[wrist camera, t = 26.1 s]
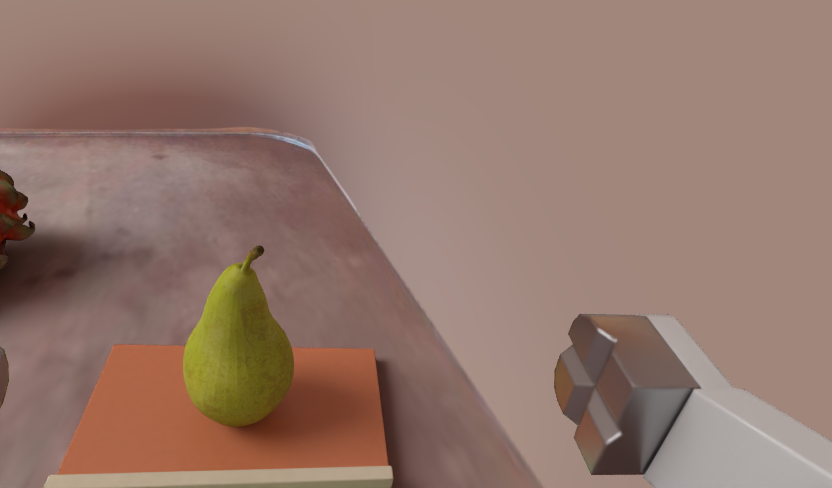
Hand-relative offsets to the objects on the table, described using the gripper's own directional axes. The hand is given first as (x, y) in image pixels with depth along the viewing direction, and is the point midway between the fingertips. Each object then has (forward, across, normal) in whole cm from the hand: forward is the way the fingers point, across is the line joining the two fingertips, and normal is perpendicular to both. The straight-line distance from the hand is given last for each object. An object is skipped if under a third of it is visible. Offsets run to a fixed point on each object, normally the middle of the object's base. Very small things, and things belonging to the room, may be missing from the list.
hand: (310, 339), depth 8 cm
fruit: (+16, +3, +20) cm, 26 cm away
